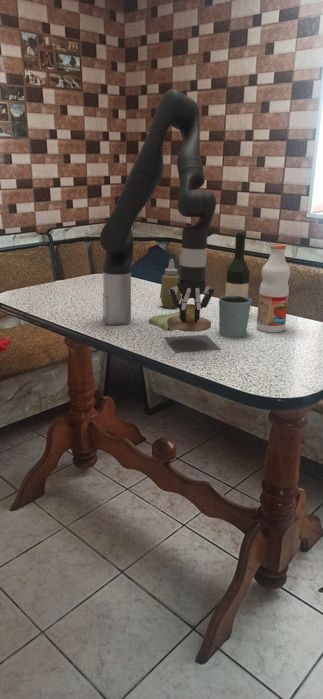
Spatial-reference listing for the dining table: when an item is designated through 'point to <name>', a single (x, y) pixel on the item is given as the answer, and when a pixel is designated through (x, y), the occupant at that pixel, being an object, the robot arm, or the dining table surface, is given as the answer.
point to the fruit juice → (274, 291)
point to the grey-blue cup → (233, 316)
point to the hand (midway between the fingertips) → (189, 321)
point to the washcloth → (163, 320)
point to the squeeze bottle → (169, 285)
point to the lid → (189, 321)
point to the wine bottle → (238, 270)
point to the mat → (191, 343)
